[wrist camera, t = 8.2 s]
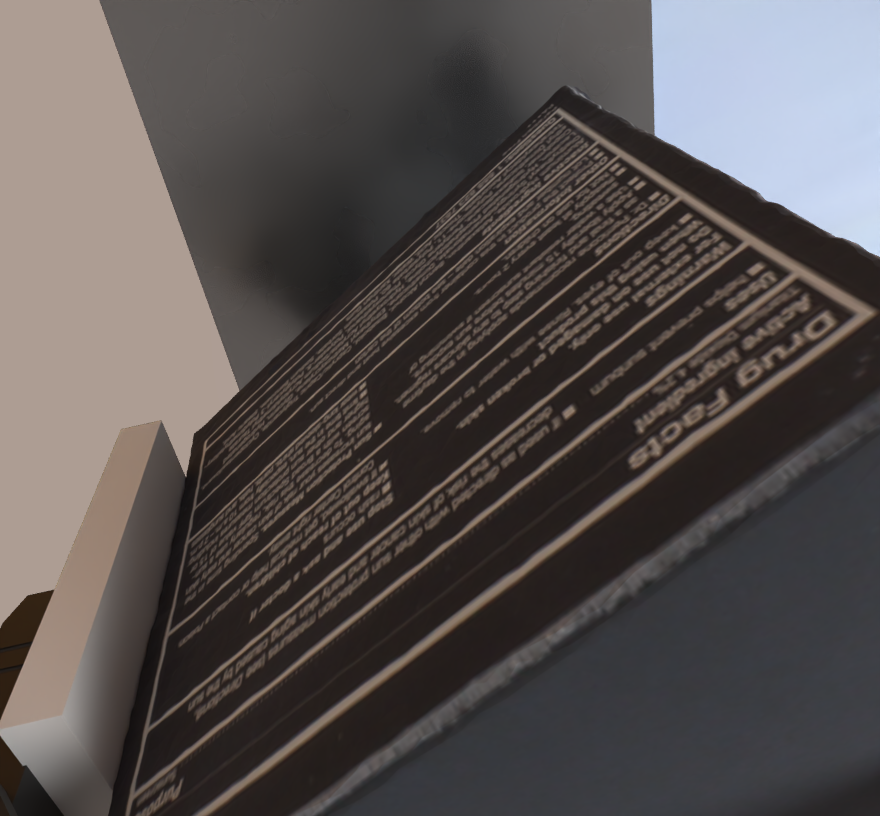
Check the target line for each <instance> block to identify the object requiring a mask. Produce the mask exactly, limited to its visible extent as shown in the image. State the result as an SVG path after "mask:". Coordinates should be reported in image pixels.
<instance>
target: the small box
mask: <svg viewBox="0 0 880 816" xmlns="http://www.w3.org/2000/svg"><path fill="white" fill-rule="evenodd" d="M108 816H880V257H879V256H877V255H874V254H872V253H869V252H868V251H866V250H865V249H864V248H862V247H861V246H860V245H858V244H856V243H854V242H851V241H849V240H846V239H844V238H838V237H835V236H833V235H832V234H830V233H828V232H826V231H824V230H822V229H820V228H819V227H817V226H815V225H814V224H812V223H810V222H809V221H807V220H805V219H804V218H802V217H800V216H798V215H797V214H795V213H793V212H791V211H790V210H788V209H787V208H785V207H783V206H782V205H780V204H778V203H773V202H768V201H766V200H765V199H764V198H763V197H762V196H761V195H760V193H758V192H757V191H755V190H753V189H751V188H749V187H747V186H745V185H744V184H742V183H741V182H739V181H738V180H736V179H735V178H733V177H731V176H729V175H727V174H725V173H723V172H721V171H720V170H719V169H716V168H713V167H711V166H710V165H708V164H707V163H704V162H702V161H700V160H698V159H696V158H694V157H693V156H691V155H689V154H687V153H686V152H684V151H682V150H681V149H679V148H677V147H676V146H674V145H671V144H669V143H667V142H665V141H663V140H661V139H659V138H657V137H656V136H655V135H653V134H650V133H648V132H647V131H645V130H642V129H639V128H637V127H636V126H635V125H634V124H632V123H631V122H629V121H628V120H626V119H624V118H623V117H622V116H619V115H617V114H615V113H612V112H609V111H607V110H605V109H603V107H602V106H601V105H598V104H595V103H594V102H593V101H592V100H591V99H590V97H589V96H588V95H587V94H586V93H584V92H583V91H581V90H580V89H578V88H577V87H574V86H567V85H565V86H563V87H561V88H560V89H559V90H557V91H556V92H555V93H554V94H553V95H552V96H551V98H550V99H549V100H548V101H547V102H546V103H545V104H544V105H543V106H542V107H540V108H539V109H538V110H537V111H536V112H535V113H534V114H533V115H532V116H531V117H529V118H528V119H527V120H526V121H525V122H524V123H522V125H521V126H520V127H519V128H518V129H517V130H516V131H514V132H513V133H512V134H511V135H510V136H508V137H507V138H506V139H505V140H504V141H503V142H502V143H501V144H500V145H499V146H498V147H497V148H496V149H495V150H494V151H493V152H492V153H491V154H490V155H489V156H488V157H487V158H485V159H484V160H483V161H482V162H481V163H480V164H479V165H478V166H477V167H476V168H475V169H474V170H473V171H472V172H471V173H470V174H469V175H468V176H467V177H465V178H464V179H463V180H462V181H461V182H460V183H459V184H458V185H457V186H456V187H455V188H454V189H453V190H452V191H451V192H449V193H448V194H447V195H446V196H445V197H444V198H443V199H442V200H441V201H440V202H439V203H437V204H436V205H435V206H434V207H433V208H432V209H430V210H429V211H427V212H426V213H425V214H424V215H423V217H422V218H421V219H420V220H419V221H418V223H417V224H416V225H415V226H414V227H412V228H411V229H410V230H409V231H408V232H407V233H406V234H405V235H404V236H403V237H402V238H401V239H399V240H398V241H397V242H396V243H395V244H394V245H393V246H392V247H391V248H390V249H389V250H388V251H387V252H386V253H384V254H383V255H382V256H381V257H380V258H379V259H378V261H377V262H375V263H374V264H373V265H372V266H371V267H370V268H369V269H368V270H367V271H366V272H365V273H364V274H363V275H362V276H361V277H360V278H358V279H357V280H356V281H355V282H354V283H352V284H351V285H350V286H349V288H348V289H347V290H346V291H345V292H344V293H343V294H342V295H341V296H340V297H338V298H337V299H336V300H335V301H334V302H333V303H332V304H331V305H329V306H328V307H326V308H325V309H324V310H323V311H322V312H321V313H320V314H319V315H318V316H317V317H316V318H315V319H314V320H313V321H312V322H311V323H310V324H309V325H308V326H307V327H306V328H305V329H304V330H303V331H302V332H301V333H300V334H299V335H298V336H297V337H296V338H295V339H294V340H293V341H292V342H291V343H289V344H288V345H287V346H286V347H285V348H284V349H283V350H282V351H281V352H280V353H279V354H278V355H277V356H275V357H274V358H273V359H272V360H271V361H270V363H268V364H267V365H266V366H265V367H264V368H263V369H262V370H261V371H260V372H259V373H258V374H257V375H256V376H255V377H253V379H252V380H251V381H250V382H249V383H248V384H246V385H245V386H244V387H243V388H242V389H241V390H240V391H239V392H238V393H237V394H236V395H235V396H234V397H233V398H232V399H231V400H230V401H229V403H228V404H226V405H225V406H224V407H223V408H222V409H221V410H220V411H219V412H218V413H217V414H216V415H215V416H214V417H213V418H212V419H211V420H210V421H209V422H208V423H207V424H206V425H204V427H202V428H201V429H200V430H199V431H197V432H196V433H194V437H193V445H192V448H191V456H190V460H189V465H188V470H187V477H186V479H185V489H184V493H183V497H182V500H181V507H180V513H179V517H178V522H177V529H176V532H175V535H174V537H173V541H172V549H171V554H170V558H169V561H168V564H167V569H166V574H165V578H164V581H163V589H162V592H161V594H160V599H159V605H158V612H157V615H156V618H155V623H154V625H153V627H152V629H151V632H150V636H149V640H148V645H147V650H146V656H145V660H144V663H143V666H142V670H141V673H140V678H139V684H138V689H137V694H136V699H135V704H134V707H133V709H132V711H131V715H130V723H129V729H128V732H127V735H126V737H125V740H124V746H123V753H122V757H121V762H120V766H119V770H118V774H117V778H116V781H115V783H114V787H113V793H112V801H111V805H110V809H109V814H108Z"/></svg>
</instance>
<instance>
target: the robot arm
mask: <svg viewBox="0 0 880 816" xmlns="http://www.w3.org/2000/svg"><path fill="white" fill-rule="evenodd" d="M185 479H186V477H185V474H184V472H183V470H182V468H181V465H180V463H179V461H178V458H177V456H176V454H175V451H174V449H173V447H172V444H171V442H170V440H169V437H168V435H167V433H166V430H165V428H164V426H163V423H162V421H157V422H152V423H147V424H143V425H138V426H134V427H129V428H125V429H121V431H120V434H119V436H118V438H117V441H116V443H115V446H114V448H113V451H112V453H111V455H110V458H109V460H108V462H107V465H106V467H105V470H104V472H103V474H102V477H101V479H100V482H99V484H98V486H97V489H96V491H95V494H94V496H93V499H92V501H91V503H90V506H89V508H88V511H87V513H86V515H85V518H84V520H83V523H82V525H81V527H80V530H79V532H78V535H77V537H76V539H75V542H74V544H73V547H72V549H71V551H70V554H69V556H68V559H67V561H66V563H65V566H64V568H63V571H62V573H61V576H60V578H59V580H58V583H57V585H56V588H55V590H51V591H46V592H42V593H37V594H33V595H28V596H27V597H26V598H25V599H24V600H23V601H22V602H21V603H20V605H19V606H18V607H17V608H16V609H15V610H14V611H13V612H12V613H11V615H10V616H9V617H8V618H7V619H6V620H5V621H4V622H3V624H2V626H1V628H0V816H108V814H109V809H110V805H111V801H112V793H113V787H114V783H115V781H116V778H117V774H118V770H119V766H120V762H121V757H122V753H123V746H124V740H125V737H126V735H127V732H128V729H129V723H130V715H131V711H132V709H133V707H134V704H135V699H136V694H137V689H138V684H139V678H140V673H141V670H142V666H143V663H144V660H145V656H146V650H147V645H148V640H149V636H150V632H151V629H152V627H153V625H154V623H155V618H156V615H157V612H158V605H159V599H160V594H161V592H162V589H163V581H164V578H165V574H166V569H167V564H168V561H169V558H170V554H171V549H172V541H173V537H174V535H175V532H176V529H177V522H178V517H179V513H180V507H181V500H182V497H183V493H184V489H185Z"/></svg>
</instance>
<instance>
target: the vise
mask: <svg viewBox="0 0 880 816" xmlns="http://www.w3.org/2000/svg"><path fill="white" fill-rule="evenodd" d="M100 3H101V6H102V9H103V11H104V14H105V17H106V20H107V22H108V25H109V28H110V31H111V34H112V36H113V39H114V42H115V45H116V47H117V50H118V53H119V56H120V59H121V62H122V64H123V67H124V69H125V73H126V76H127V78H128V81H129V84H130V87H131V89H132V92H133V95H134V97H135V100H136V103H137V106H138V109H139V112H140V115H141V117H142V120H143V122H144V126H145V128H146V131H147V134H148V137H149V140H150V142H151V145H152V148H153V151H154V153H155V156H156V159H157V162H158V165H159V167H160V170H161V173H162V176H163V179H164V181H165V184H166V187H167V190H168V192H169V195H170V198H171V201H172V204H173V206H174V209H175V212H176V215H177V217H178V220H179V223H180V226H181V229H182V231H183V234H184V237H185V240H186V242H187V245H188V248H189V251H190V254H191V256H192V259H193V262H194V265H195V268H196V270H197V273H198V276H199V279H200V282H201V284H202V287H203V290H204V293H205V296H206V298H207V301H208V304H209V307H210V309H211V312H212V315H213V318H214V320H215V323H216V326H217V329H218V332H219V334H220V337H221V340H222V343H223V346H224V348H225V351H226V354H227V357H228V359H229V362H230V365H231V368H232V371H233V374H234V376H235V379H236V382H237V384H238V387H239V390H241V389H242V388H243V387H244V386H245V385H246V384H248V383H249V382H250V381H251V380H252V379H253V377H255V376H256V375H257V374H258V373H259V372H260V371H261V370H262V369H263V368H264V367H265V366H266V365H267V364H268V363H270V361H271V360H272V359H273V358H274V357H275V356H277V355H278V354H279V353H280V352H281V351H282V350H283V349H284V348H285V347H286V346H287V345H288V344H289V343H291V342H292V341H293V340H294V339H295V338H296V337H297V336H298V335H299V334H300V333H301V332H302V331H303V330H304V329H305V328H306V327H307V326H308V325H309V324H310V323H311V322H312V321H313V320H314V319H315V318H316V317H317V316H318V315H319V314H320V313H321V312H322V311H323V310H324V309H325V308H326V307H328V306H329V305H331V304H332V303H333V302H334V301H335V300H336V299H337V298H338V297H340V296H341V295H342V294H343V293H344V292H345V291H346V290H347V289H348V288H349V286H350V285H351V284H352V283H354V282H355V281H356V280H357V279H358V278H360V277H361V276H362V275H363V274H364V273H365V272H366V271H367V270H368V269H369V268H370V267H371V266H372V265H373V264H374V263H375V262H377V261H378V259H379V258H380V257H381V256H382V255H383V254H384V253H386V252H387V251H388V250H389V249H390V248H391V247H392V246H393V245H394V244H395V243H396V242H397V241H398V240H399V239H401V238H402V237H403V236H404V235H405V234H406V233H407V232H408V231H409V230H410V229H411V228H412V227H414V226H415V225H416V224H417V223H418V221H419V220H420V219H421V218H422V217H423V215H424V214H425V213H426V212H427V211H429V210H430V209H432V208H433V207H434V206H435V205H436V204H437V203H439V202H440V201H441V200H442V199H443V198H444V197H445V196H446V195H447V194H448V193H449V192H451V191H452V190H453V189H454V188H455V187H456V186H457V185H458V184H459V183H460V182H461V181H462V180H463V179H464V178H465V177H467V176H468V175H469V174H470V173H471V172H472V171H473V170H474V169H475V168H476V167H477V166H478V165H479V164H480V163H481V162H482V161H483V160H484V159H485V158H487V157H488V156H489V155H490V154H491V153H492V152H493V151H494V150H495V149H496V148H497V147H498V146H499V145H500V144H501V143H502V142H503V141H504V140H505V139H506V138H507V137H508V136H510V135H511V134H512V133H513V132H514V131H516V130H517V129H518V128H519V127H520V126H521V125H522V123H524V122H525V121H526V120H527V119H528V118H529V117H531V116H532V115H533V114H534V113H535V112H536V111H537V110H538V109H539V108H540V107H542V106H543V105H544V104H545V103H546V102H547V101H548V100H549V99H550V98H551V96H552V95H553V94H554V93H555V92H556V91H557V90H559V89H560V88H561V87H563V86H565V85H567V86H574V87H577V88H578V89H580V90H581V91H583V92H584V93H586V94H587V95H588V96H589V97H590V99H591V100H592V101H593V102H594V103H595V104H598V105H601V106H602V107H603V109H605V110H607V111H609V112H612V113H615V114H617V115H619V116H622V117H623V118H624V119H626V120H628V121H629V122H631V123H632V124H634V125H635V126H636V127H637V128H639V129H642V130H645V131H647V132H648V133H650V134H653V135H655V134H654V93H653V52H652V11H651V0H100Z"/></svg>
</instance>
